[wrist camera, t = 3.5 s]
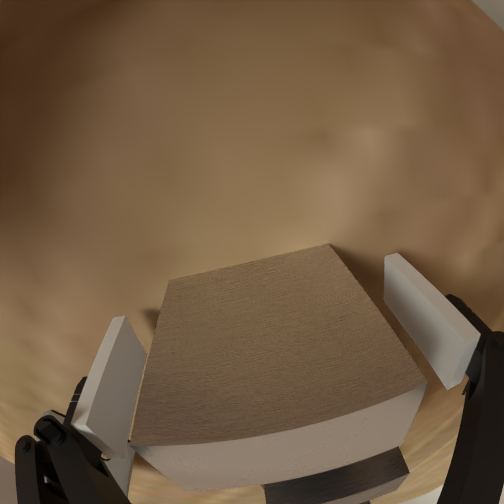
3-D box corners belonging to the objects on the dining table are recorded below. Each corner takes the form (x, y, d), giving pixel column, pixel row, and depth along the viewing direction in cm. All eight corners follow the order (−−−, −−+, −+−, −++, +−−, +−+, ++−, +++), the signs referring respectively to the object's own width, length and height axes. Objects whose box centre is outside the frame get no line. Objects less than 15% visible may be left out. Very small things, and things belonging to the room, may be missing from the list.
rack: (207, 384, 17) (207, 509, 10) (404, 332, 17) (469, 431, 9) (268, 486, 28) (277, 543, 20) (372, 460, 28) (391, 513, 20)
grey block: (169, 280, 14) (129, 445, 6) (327, 243, 14) (427, 382, 6) (193, 339, 16) (185, 490, 8) (333, 307, 16) (401, 444, 8)
